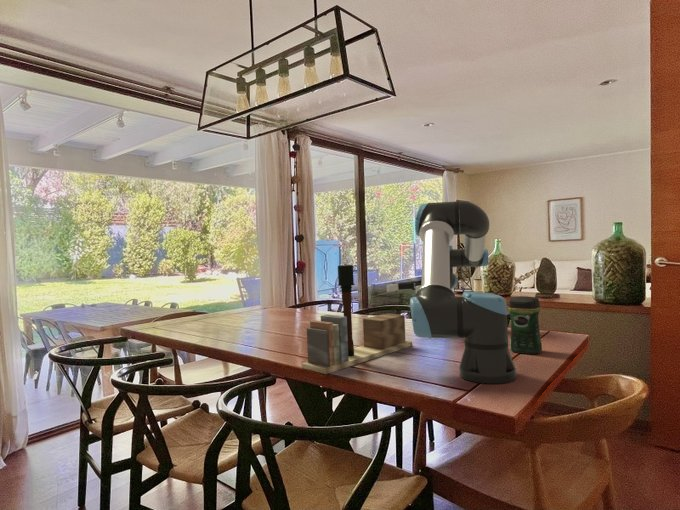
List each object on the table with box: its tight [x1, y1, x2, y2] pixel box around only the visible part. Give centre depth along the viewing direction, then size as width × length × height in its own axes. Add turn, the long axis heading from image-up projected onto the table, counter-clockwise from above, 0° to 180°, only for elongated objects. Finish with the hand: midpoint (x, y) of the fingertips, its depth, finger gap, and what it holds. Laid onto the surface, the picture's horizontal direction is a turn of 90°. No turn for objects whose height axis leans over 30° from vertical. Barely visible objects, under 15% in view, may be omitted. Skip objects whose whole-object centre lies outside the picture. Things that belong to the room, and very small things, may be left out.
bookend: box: [362, 312, 407, 350], centre depth 161 cm, size 14×8×10 cm, turn 135°
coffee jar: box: [508, 295, 543, 355], centre depth 148 cm, size 10×8×19 cm
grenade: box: [337, 264, 355, 356], centre depth 147 cm, size 6×6×30 cm
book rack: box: [301, 314, 413, 375], centre depth 152 cm, size 44×11×16 cm, turn 135°
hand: (401, 289), depth 169 cm, fingers open, 13 cm apart
